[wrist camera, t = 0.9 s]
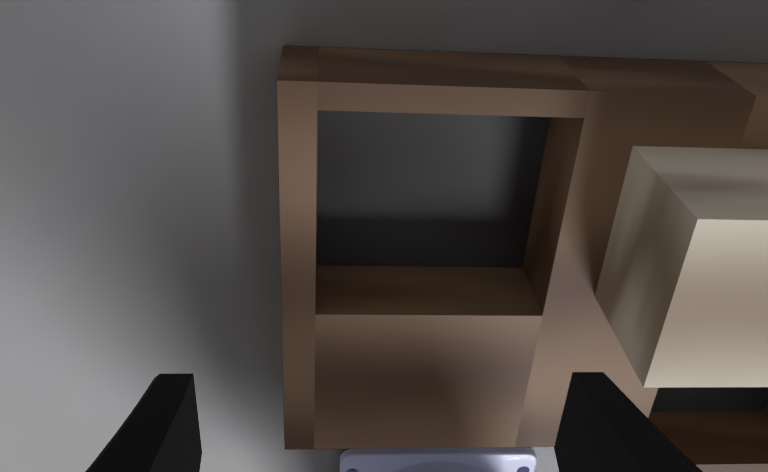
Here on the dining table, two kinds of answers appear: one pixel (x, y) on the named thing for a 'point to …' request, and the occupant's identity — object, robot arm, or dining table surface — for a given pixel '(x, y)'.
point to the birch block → (691, 267)
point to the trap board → (481, 242)
